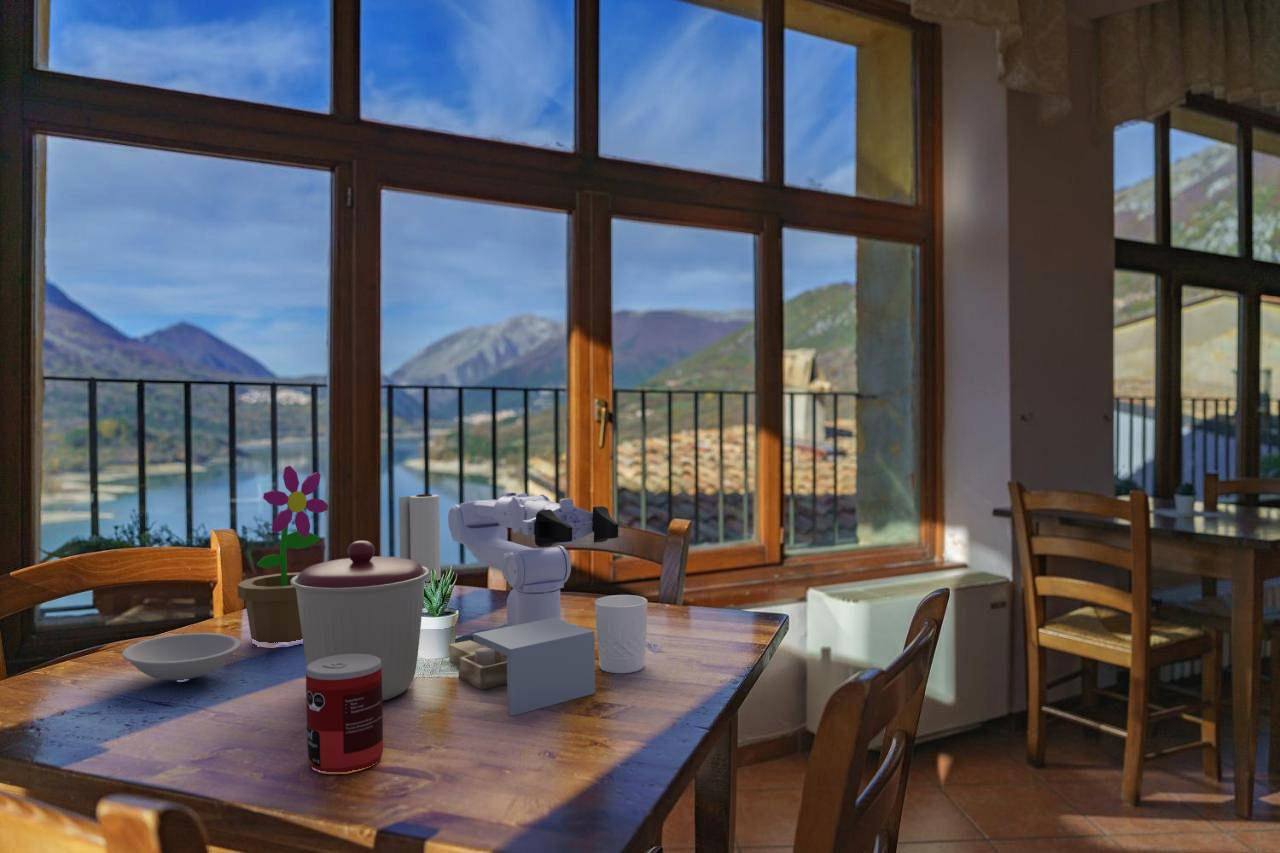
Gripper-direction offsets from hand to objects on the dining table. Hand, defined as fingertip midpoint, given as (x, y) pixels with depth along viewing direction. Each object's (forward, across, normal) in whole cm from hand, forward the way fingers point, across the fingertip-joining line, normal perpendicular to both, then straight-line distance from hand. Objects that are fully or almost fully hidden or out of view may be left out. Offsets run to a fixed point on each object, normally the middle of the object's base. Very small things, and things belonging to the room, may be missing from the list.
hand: (593, 532), depth 124 cm
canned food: (+13, -38, +21) cm, 45 cm away
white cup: (+1, +5, +21) cm, 21 cm away
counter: (+5, -11, +21) cm, 24 cm away
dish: (-30, -51, +23) cm, 63 cm away
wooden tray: (-10, -13, +21) cm, 27 cm away
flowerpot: (-45, -35, +23) cm, 61 cm away
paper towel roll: (-64, -5, +23) cm, 68 cm away
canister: (-9, -30, +22) cm, 38 cm away
